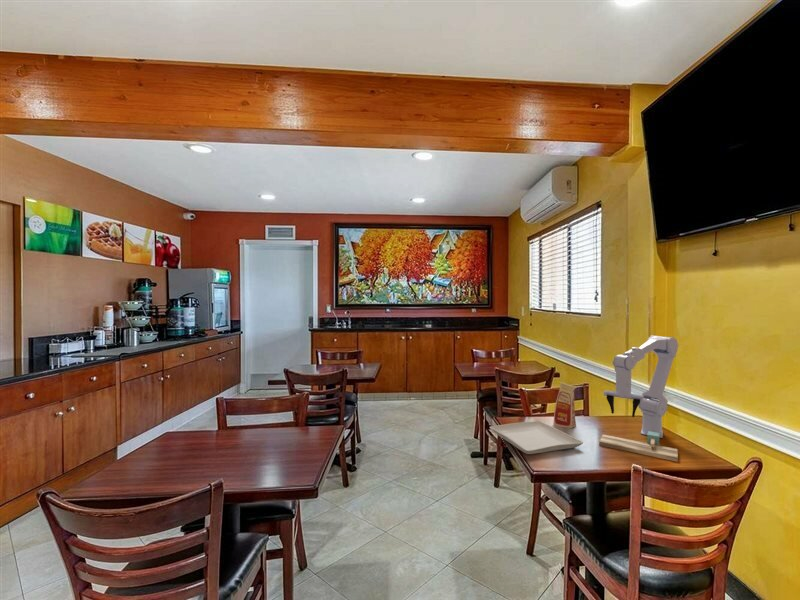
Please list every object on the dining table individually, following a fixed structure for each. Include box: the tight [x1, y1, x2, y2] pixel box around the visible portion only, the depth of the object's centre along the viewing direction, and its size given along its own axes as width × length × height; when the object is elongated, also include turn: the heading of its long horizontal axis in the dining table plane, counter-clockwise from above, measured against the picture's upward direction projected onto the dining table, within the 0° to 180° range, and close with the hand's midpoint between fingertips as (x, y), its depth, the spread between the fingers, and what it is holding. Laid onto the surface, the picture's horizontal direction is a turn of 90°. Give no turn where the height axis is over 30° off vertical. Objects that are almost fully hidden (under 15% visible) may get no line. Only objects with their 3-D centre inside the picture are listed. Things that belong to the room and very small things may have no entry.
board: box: [598, 434, 679, 463], centre depth 152 cm, size 10×26×2 cm, turn 54°
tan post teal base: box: [646, 431, 660, 448], centre depth 153 cm, size 12×4×5 cm, turn 144°
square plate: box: [489, 420, 584, 455], centre depth 159 cm, size 27×27×4 cm
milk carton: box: [552, 381, 577, 429], centre depth 181 cm, size 9×9×20 cm
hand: (622, 414), depth 163 cm, fingers open, 7 cm apart
